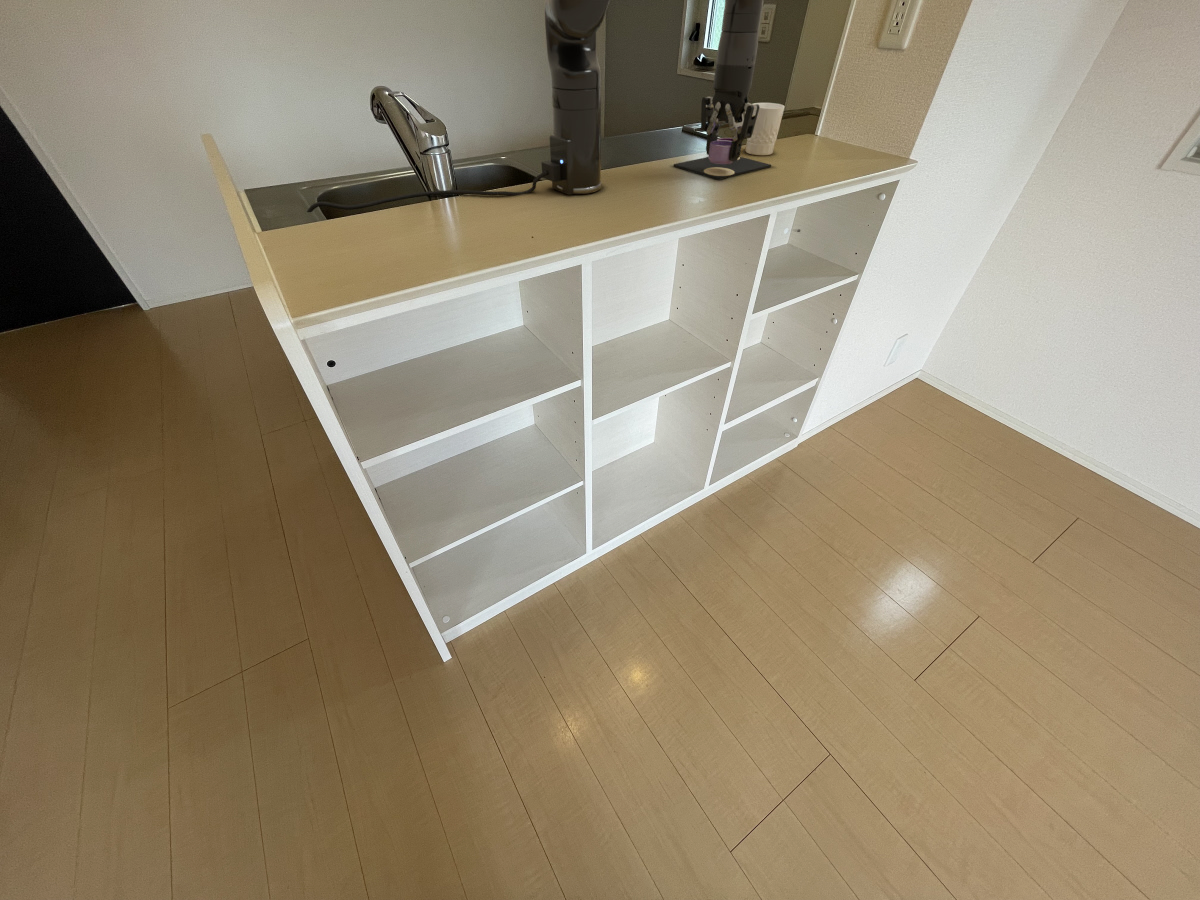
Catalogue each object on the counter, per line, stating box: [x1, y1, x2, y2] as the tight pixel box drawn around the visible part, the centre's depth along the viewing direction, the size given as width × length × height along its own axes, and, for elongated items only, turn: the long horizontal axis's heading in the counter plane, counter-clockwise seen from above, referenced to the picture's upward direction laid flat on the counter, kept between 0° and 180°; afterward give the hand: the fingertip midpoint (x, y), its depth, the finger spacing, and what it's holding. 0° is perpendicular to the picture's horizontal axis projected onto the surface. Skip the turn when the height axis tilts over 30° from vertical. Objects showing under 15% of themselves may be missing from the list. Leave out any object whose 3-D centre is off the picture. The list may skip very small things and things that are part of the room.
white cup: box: [745, 102, 786, 156], centre depth 125 cm, size 8×8×10 cm
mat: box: [673, 156, 772, 181], centre depth 118 cm, size 18×15×1 cm
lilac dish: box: [707, 140, 733, 164], centre depth 110 cm, size 6×6×4 cm
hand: (721, 157), depth 111 cm, fingers closed on lilac dish, 6 cm apart
